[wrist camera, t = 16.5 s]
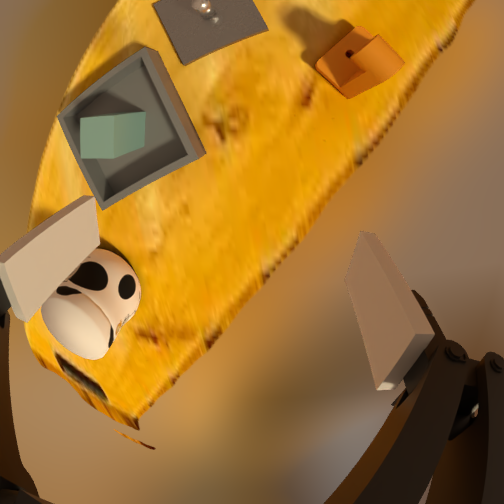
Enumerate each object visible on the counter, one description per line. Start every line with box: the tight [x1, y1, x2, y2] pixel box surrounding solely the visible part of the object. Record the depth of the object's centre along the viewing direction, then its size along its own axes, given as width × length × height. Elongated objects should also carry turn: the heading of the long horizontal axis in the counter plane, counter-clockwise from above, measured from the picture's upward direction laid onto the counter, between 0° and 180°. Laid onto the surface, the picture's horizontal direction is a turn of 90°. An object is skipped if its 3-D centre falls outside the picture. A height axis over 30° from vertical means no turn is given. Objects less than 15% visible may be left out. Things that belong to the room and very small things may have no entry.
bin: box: [57, 47, 206, 211], centre depth 39 cm, size 20×20×5 cm
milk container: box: [41, 249, 141, 360], centre depth 49 cm, size 17×17×18 cm
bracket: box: [315, 26, 405, 99], centre depth 28 cm, size 11×7×12 cm, turn 139°
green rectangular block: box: [80, 112, 146, 159], centre depth 36 cm, size 6×6×10 cm
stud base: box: [154, 0, 269, 66], centre depth 28 cm, size 14×14×6 cm
